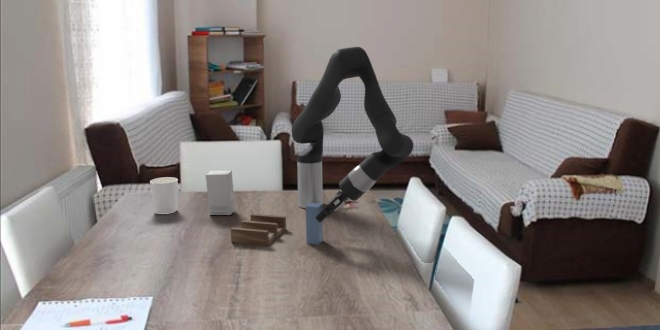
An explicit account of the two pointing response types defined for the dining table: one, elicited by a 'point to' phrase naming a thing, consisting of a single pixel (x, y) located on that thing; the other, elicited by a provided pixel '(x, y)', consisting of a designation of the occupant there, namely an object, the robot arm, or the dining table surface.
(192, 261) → the dining table surface
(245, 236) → the rack
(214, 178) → the skincare box
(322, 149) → the robot arm
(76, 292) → the dining table surface
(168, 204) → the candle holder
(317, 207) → the block
